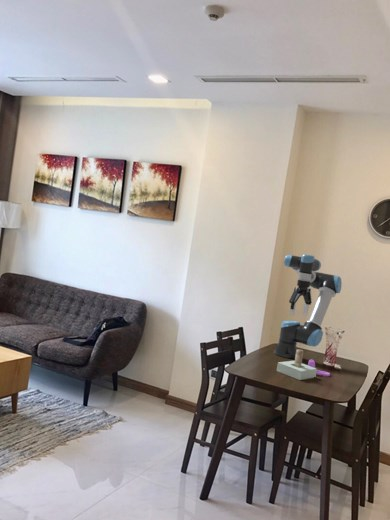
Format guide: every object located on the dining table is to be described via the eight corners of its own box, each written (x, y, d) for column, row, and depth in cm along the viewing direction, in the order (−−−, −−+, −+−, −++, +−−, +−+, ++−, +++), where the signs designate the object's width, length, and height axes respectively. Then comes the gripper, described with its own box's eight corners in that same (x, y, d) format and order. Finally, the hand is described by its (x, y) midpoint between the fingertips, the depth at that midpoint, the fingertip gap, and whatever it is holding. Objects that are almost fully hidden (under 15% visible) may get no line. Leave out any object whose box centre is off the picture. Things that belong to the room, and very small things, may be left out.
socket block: (292, 368, 286) (294, 360, 286) (315, 377, 275) (317, 368, 274) (276, 370, 275) (277, 362, 275) (299, 380, 264) (301, 371, 263)
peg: (295, 372, 278) (299, 349, 277) (300, 374, 275) (305, 351, 274) (291, 373, 275) (295, 349, 274) (296, 375, 272) (301, 351, 272)
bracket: (307, 372, 283) (309, 361, 283) (307, 370, 289) (308, 359, 288) (329, 377, 281) (331, 365, 280) (329, 374, 286) (331, 363, 286)
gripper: (310, 280, 301) (304, 313, 302) (286, 278, 284) (281, 313, 285) (320, 282, 296) (315, 315, 297) (297, 280, 279) (291, 316, 280)
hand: (298, 314), depth 291 cm, fingers open, 13 cm apart
